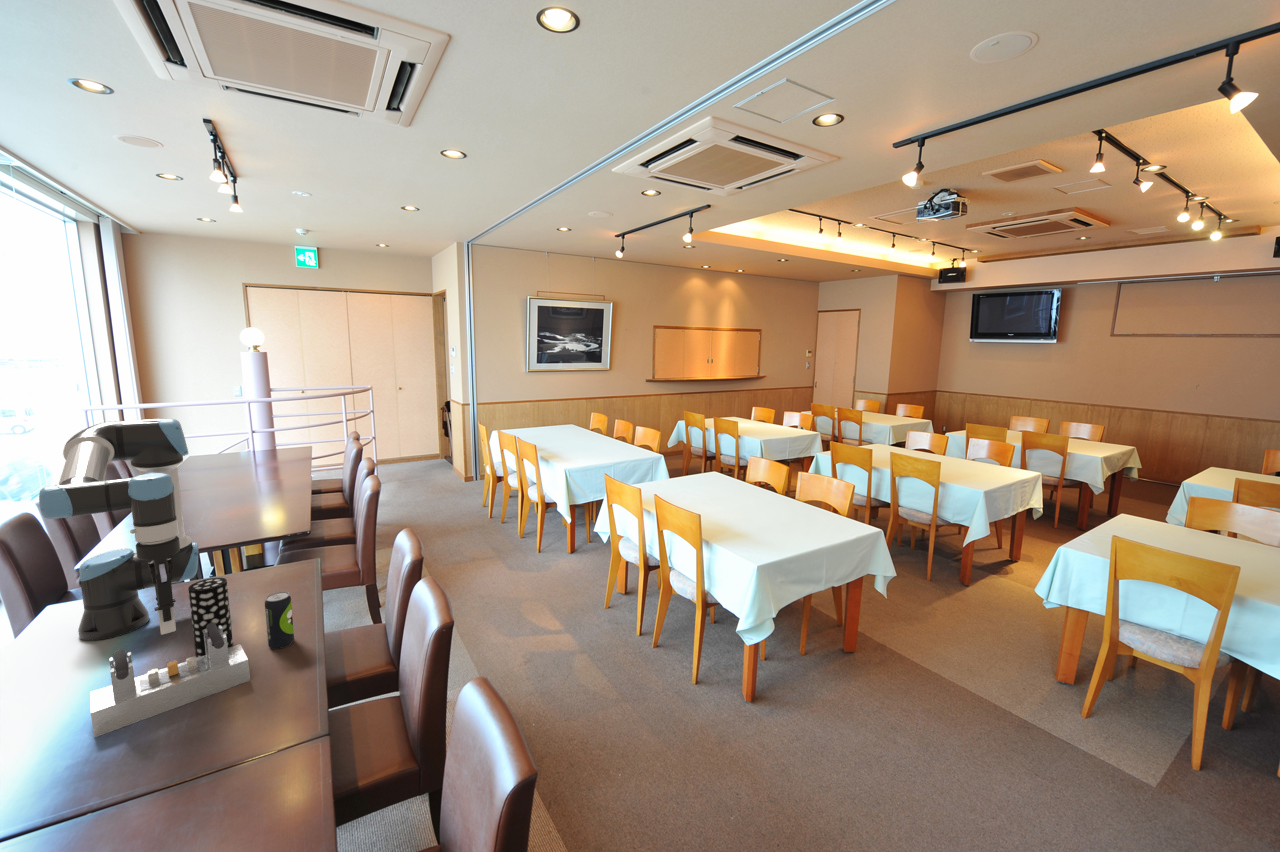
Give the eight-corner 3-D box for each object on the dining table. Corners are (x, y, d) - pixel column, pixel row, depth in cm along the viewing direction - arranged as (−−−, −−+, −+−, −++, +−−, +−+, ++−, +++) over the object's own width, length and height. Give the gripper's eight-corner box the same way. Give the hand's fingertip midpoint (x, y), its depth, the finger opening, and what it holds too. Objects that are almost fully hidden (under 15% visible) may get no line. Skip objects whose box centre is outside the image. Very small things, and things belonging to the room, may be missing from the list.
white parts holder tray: (93, 715, 120) (86, 662, 118) (242, 664, 140) (237, 618, 139) (94, 737, 113) (86, 682, 111) (250, 680, 134) (245, 632, 132)
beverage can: (263, 647, 149) (259, 598, 147) (285, 636, 154) (281, 589, 152) (277, 652, 146) (273, 603, 144) (299, 641, 152) (295, 593, 150)
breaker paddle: (167, 672, 126) (166, 663, 126) (177, 669, 127) (176, 660, 127) (168, 676, 125) (167, 666, 124) (178, 673, 126) (177, 663, 126)
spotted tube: (211, 660, 142) (204, 592, 139) (187, 656, 144) (180, 588, 141) (240, 643, 150) (234, 579, 147) (217, 640, 152) (210, 576, 149)
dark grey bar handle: (114, 658, 122) (113, 650, 122) (126, 654, 124) (125, 647, 124) (116, 682, 114) (115, 674, 113) (129, 678, 115) (128, 670, 115)
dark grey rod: (206, 631, 135) (205, 624, 134) (216, 628, 136) (215, 621, 136) (215, 651, 126) (214, 643, 126) (225, 648, 127) (224, 640, 127)
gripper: (133, 535, 123) (144, 627, 126) (137, 551, 114) (149, 648, 117) (175, 528, 128) (185, 616, 132) (182, 542, 119) (192, 636, 123)
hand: (168, 631), depth 125 cm, fingers closed
